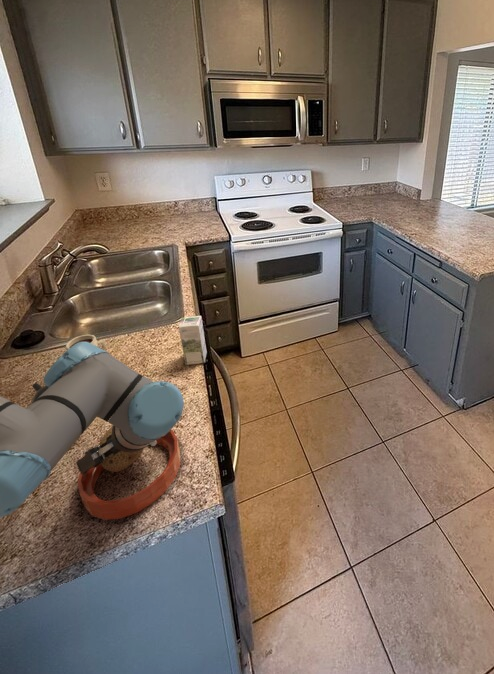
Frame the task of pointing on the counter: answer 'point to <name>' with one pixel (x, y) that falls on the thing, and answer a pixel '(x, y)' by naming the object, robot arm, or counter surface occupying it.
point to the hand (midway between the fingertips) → (118, 444)
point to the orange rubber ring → (140, 498)
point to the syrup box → (193, 340)
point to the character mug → (85, 338)
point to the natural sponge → (118, 457)
